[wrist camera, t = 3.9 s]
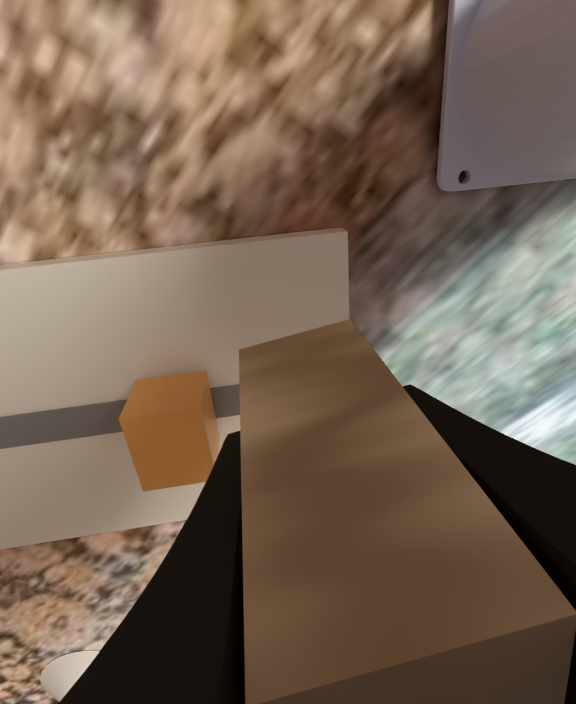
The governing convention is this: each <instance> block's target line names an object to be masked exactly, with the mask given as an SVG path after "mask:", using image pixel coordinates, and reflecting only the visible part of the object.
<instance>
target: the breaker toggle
mask: <svg viewBox="0 0 576 704" xmlns="http://www.w3.org/2000/svg"><path fill="white" fill-rule="evenodd" d="M119 421H120V424H121V427H122V430H123V433H124V436H125V439H126V442H127V445H128V448H129V451H130V454H131V457H132V460H133V463H134V466H135V469H136V472H137V475H138V478H139V481H140V484H141V487H142V490H143V492H144V491H151V490H157V489H164V488H170V487H177V486H183V485H190V484H196V483H203V482H206V481H207V479H208V477H209V474H210V472H211V470H212V468H213V466H214V463H215V461H216V459H217V456H218V454H219V443H220V435H219V430H218V425H217V420H216V415H215V410H214V406H213V401H212V396H211V391H210V386H209V381H208V376H207V371H200V372H193V373H185V374H178V375H170V376H163V377H156V378H148V379H141V380H137V381H136V383H135V385H134V387H133V389H132V391H131V393H130V395H129V397H128V400H127V402H126V404H125V406H124V408H123V410H122V412H121V414H120V416H119Z"/></svg>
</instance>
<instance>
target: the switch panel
mask: <svg viewBox="0 0 576 704" xmlns="http://www.w3.org/2000/svg"><path fill="white" fill-rule="evenodd" d="M348 319H350V311H349V265H348V231H346V230H345V229H343V228H341V227H339V228H330V229H321V230H312V231H303V232H294V233H285V234H276V235H267V236H258V237H249V238H240V239H231V240H222V241H213V242H204V243H195V244H186V245H177V246H168V247H159V248H150V249H141V250H132V251H123V252H114V253H105V254H96V255H87V256H78V257H69V258H60V259H51V260H42V261H33V262H24V263H15V264H6V265H0V550H1V549H7V548H13V547H20V546H26V545H32V544H38V543H45V542H51V541H57V540H63V539H70V538H76V537H82V536H88V535H95V534H101V533H107V532H113V531H120V530H126V529H132V528H138V527H145V526H151V525H157V524H164V523H170V522H176V521H182V520H187V518H188V516H189V515H190V513H191V511H192V509H193V507H194V505H195V503H196V501H197V499H198V497H199V495H200V493H201V491H202V489H203V487H204V485H205V483H206V482H203V483H196V484H190V485H183V486H177V487H170V488H164V489H157V490H151V491H144V492H143V490H142V487H141V484H140V481H139V478H138V475H137V472H136V469H135V466H134V463H133V460H132V457H131V454H130V451H129V448H128V445H127V442H126V439H125V436H124V433H123V430H122V427H121V424H120V421H119V416H120V414H121V412H122V410H123V408H124V406H125V404H126V402H127V400H128V397H129V395H130V393H131V391H132V389H133V387H134V385H135V383H136V381H137V380H141V379H148V378H156V377H163V376H170V375H178V374H185V373H193V372H200V371H207V376H208V381H209V386H210V391H211V396H212V401H213V406H214V410H215V415H216V420H217V425H218V430H219V435H220V443H219V452H220V449H221V447H222V445H223V442H224V440H225V438H226V437H227V435H228V434H230V433H233V432H237V431H240V386H239V349H243V348H246V347H250V346H253V345H257V344H261V343H264V342H268V341H272V340H275V339H279V338H282V337H286V336H290V335H293V334H297V333H301V332H304V331H308V330H312V329H315V328H319V327H322V326H326V325H330V324H333V323H337V322H341V321H344V320H348Z"/></svg>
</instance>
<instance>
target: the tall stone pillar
mask: <svg viewBox="0 0 576 704" xmlns="http://www.w3.org/2000/svg"><path fill="white" fill-rule="evenodd" d="M239 386H240V439H241V493H242V546H243V600H244V653H245V704H564V702H565V696H566V689H567V683H568V676H569V670H570V663H571V657H572V650H573V644H574V637H575V631H576V610H575V609H574V608H573V606H572V605H571V604H570V603H569V601H568V600H567V599H566V597H565V596H564V595H563V594H562V592H561V591H560V590H559V588H558V587H557V586H556V584H555V583H554V582H553V581H552V579H551V578H550V577H549V575H548V574H547V573H546V572H545V570H544V569H543V568H542V566H541V565H540V564H539V563H538V561H537V560H536V559H535V557H534V556H533V555H532V553H531V552H530V551H529V550H528V548H527V547H526V546H525V544H524V543H523V542H522V541H521V539H520V538H519V537H518V535H517V534H516V533H515V532H514V530H513V529H512V528H511V526H510V525H509V524H508V522H507V521H506V520H505V519H504V517H503V516H502V515H501V513H500V512H499V511H498V510H497V508H496V507H495V506H494V504H493V503H492V502H491V500H490V499H489V498H488V497H487V495H486V494H485V493H484V491H483V490H482V489H481V488H480V486H479V485H478V484H477V482H476V481H475V480H474V479H473V477H472V476H471V475H470V473H469V472H468V471H467V469H466V468H465V467H464V466H463V464H462V463H461V462H460V460H459V459H458V458H457V457H456V455H455V454H454V453H453V451H452V450H451V449H450V447H449V446H448V445H447V444H446V442H445V441H444V440H443V438H442V437H441V436H440V435H439V433H438V432H437V431H436V429H435V428H434V427H433V426H432V424H431V423H430V422H429V420H428V419H427V418H426V416H425V415H424V414H423V413H422V411H421V410H420V409H419V407H418V406H417V405H416V404H415V402H414V401H413V400H412V398H411V397H410V396H409V395H408V393H407V392H406V391H405V389H404V388H403V387H402V385H401V384H400V383H399V382H398V380H397V379H396V378H395V376H394V375H393V374H392V373H391V371H390V370H389V369H388V367H387V366H386V365H385V363H384V362H383V361H382V360H381V358H380V357H379V356H378V354H377V353H376V352H375V351H374V349H373V348H372V347H371V345H370V344H369V343H368V342H367V340H366V339H365V338H364V336H363V335H362V334H361V332H360V331H359V330H358V329H357V327H356V326H355V325H354V323H353V322H352V321H351V320H350V319H348V320H344V321H341V322H337V323H333V324H330V325H326V326H322V327H319V328H315V329H312V330H308V331H304V332H301V333H297V334H293V335H290V336H286V337H282V338H279V339H275V340H272V341H268V342H264V343H261V344H257V345H253V346H250V347H246V348H243V349H239Z"/></svg>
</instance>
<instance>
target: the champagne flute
mask: <svg viewBox="0 0 576 704" xmlns="http://www.w3.org/2000/svg"><path fill="white" fill-rule="evenodd" d="M99 652H100V651H80V652H74V653H70V654H66V655H64V656H61V657H58V658H57V659H55V660H53V661H51V662H50V663H49V664H48V665H46V666H45V668H44V669H43V670H42V673H41V676H40V682H41V684H42V687H43V688H44V689H45V690H46V691H47V692H48V693H49V694H50V695H51V696H53V697H54V698H55V699H56V700H57V701H59V702H60V701H61V700H62V698H63V697H64V696H65V695H66V693H67V692H68V691H69V690H70V689H71V687H72V686H73V685H74V684H75V682H76V681H77V680H78V679H79V678H80V676H81V675H82V674H83V673H84V671H85V670H86V669H87V668H88V666H89V665H90V664H91V662H92V661H93V660H94V658H95V657H96V656H97V654H98V653H99Z"/></svg>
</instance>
